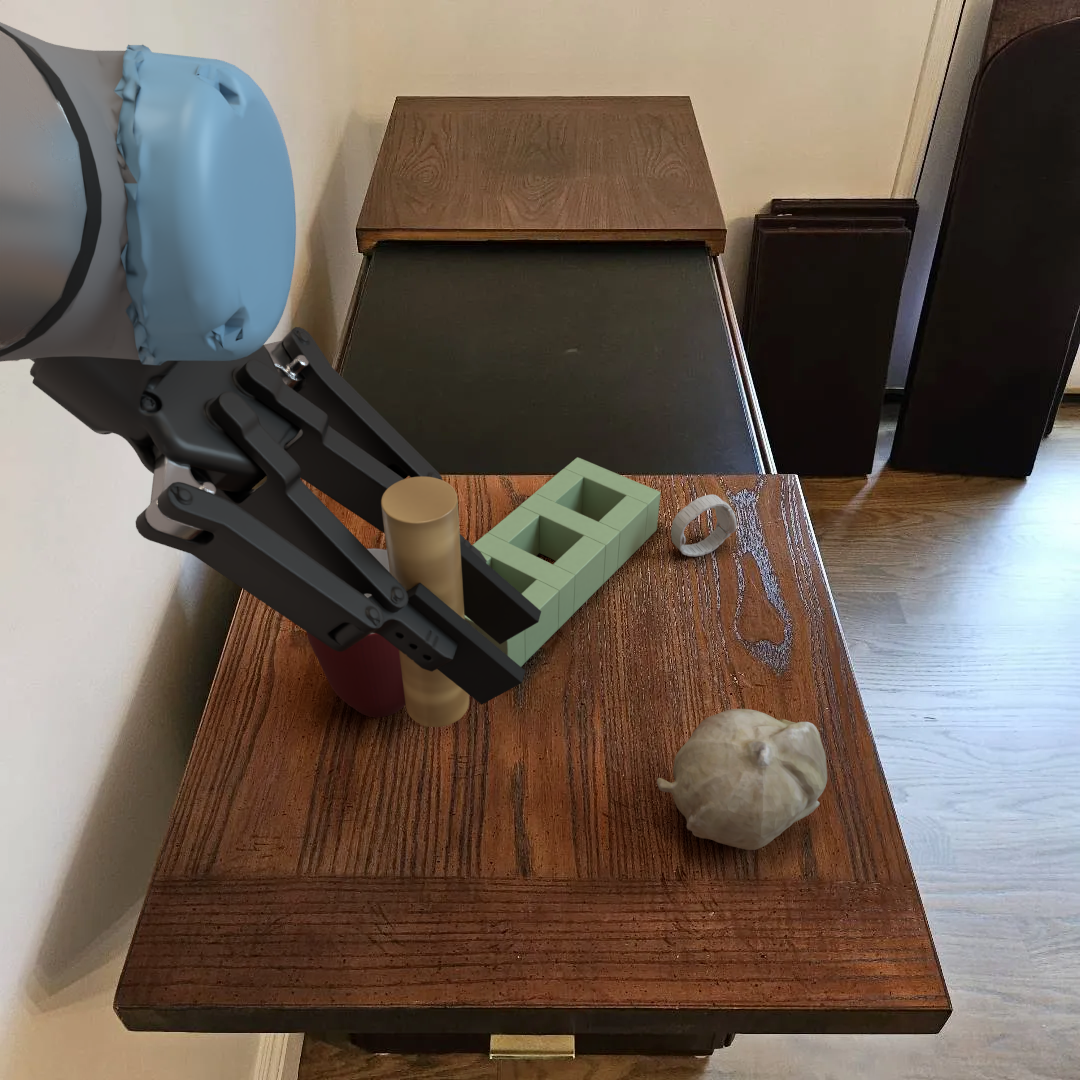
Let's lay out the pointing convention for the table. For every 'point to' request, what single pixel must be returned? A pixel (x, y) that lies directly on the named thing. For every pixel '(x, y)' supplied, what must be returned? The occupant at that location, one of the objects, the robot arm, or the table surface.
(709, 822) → the garlic bulb
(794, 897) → the table surface
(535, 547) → the peg block
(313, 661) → the table surface
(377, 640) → the mug
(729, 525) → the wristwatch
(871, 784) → the table surface
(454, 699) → the peg
